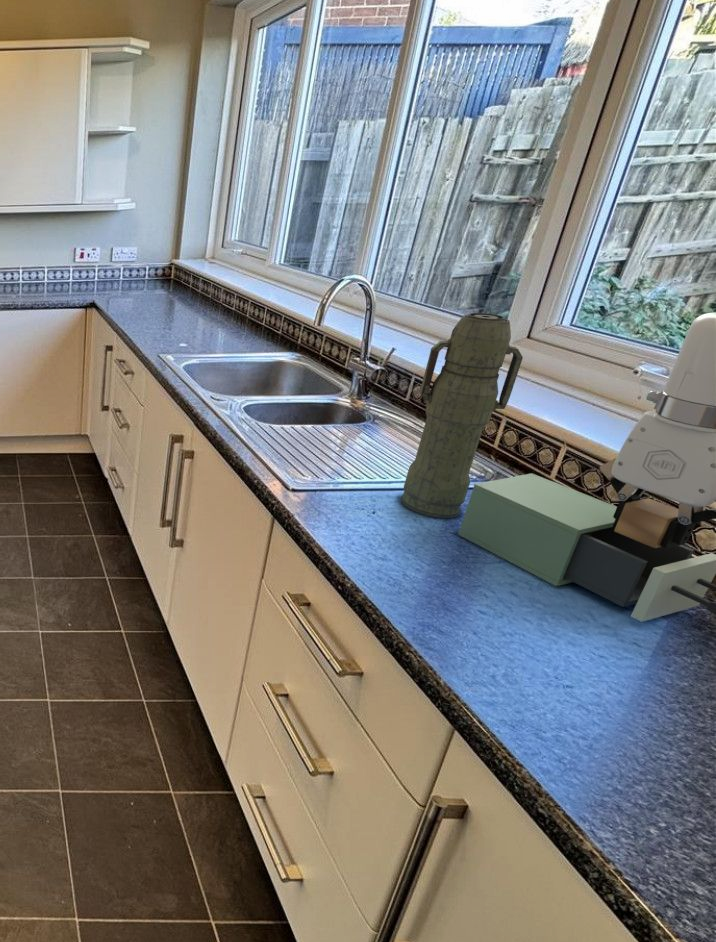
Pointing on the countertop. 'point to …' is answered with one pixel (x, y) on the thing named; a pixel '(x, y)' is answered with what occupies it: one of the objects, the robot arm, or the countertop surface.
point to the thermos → (459, 411)
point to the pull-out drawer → (642, 574)
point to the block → (646, 521)
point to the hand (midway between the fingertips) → (646, 534)
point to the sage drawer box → (533, 522)
